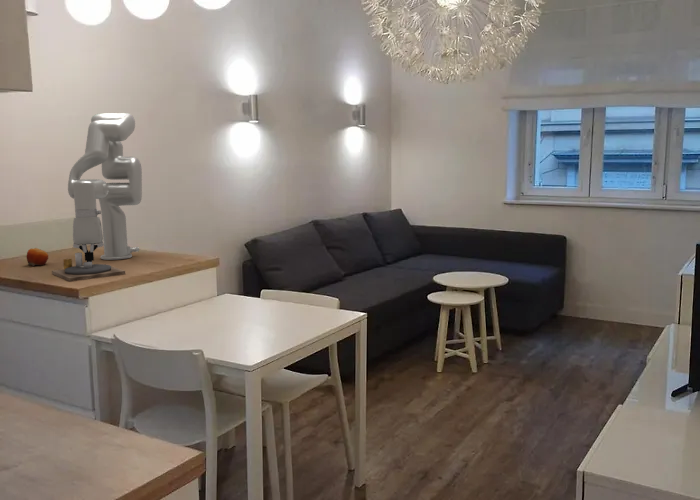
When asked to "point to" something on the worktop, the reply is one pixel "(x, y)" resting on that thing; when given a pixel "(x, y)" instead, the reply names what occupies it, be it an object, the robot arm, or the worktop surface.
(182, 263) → the worktop surface
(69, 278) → the stand
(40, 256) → the fruit
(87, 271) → the grey pot lid
